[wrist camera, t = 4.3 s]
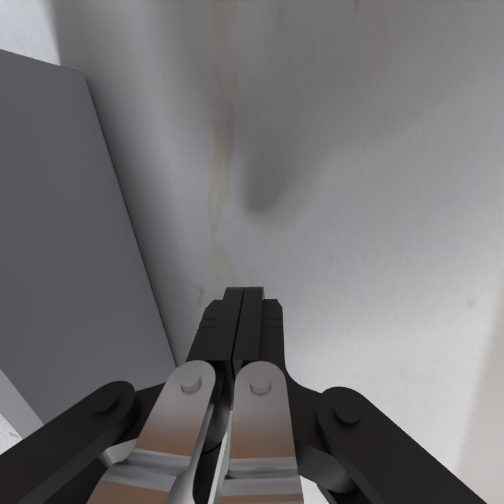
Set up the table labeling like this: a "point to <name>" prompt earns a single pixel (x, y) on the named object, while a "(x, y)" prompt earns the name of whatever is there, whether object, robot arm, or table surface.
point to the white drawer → (65, 254)
